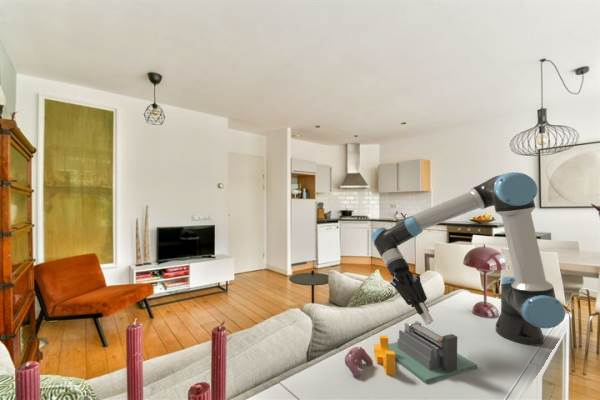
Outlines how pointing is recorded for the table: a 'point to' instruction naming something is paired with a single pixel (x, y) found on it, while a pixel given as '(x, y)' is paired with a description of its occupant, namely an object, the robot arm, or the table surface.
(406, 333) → the heat sink board
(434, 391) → the table surface
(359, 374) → the video game controller
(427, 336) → the retention strap
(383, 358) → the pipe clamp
